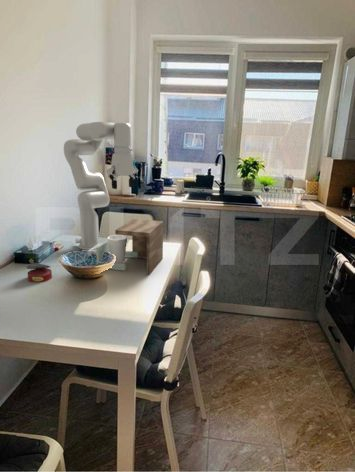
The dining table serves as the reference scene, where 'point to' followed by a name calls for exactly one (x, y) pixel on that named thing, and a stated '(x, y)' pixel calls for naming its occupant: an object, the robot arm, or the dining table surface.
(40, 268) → the canned food
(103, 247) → the pull out rack
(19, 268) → the dining table surface
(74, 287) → the dining table surface
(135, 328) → the dining table surface
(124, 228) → the counter shelf
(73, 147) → the robot arm
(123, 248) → the foam cup
